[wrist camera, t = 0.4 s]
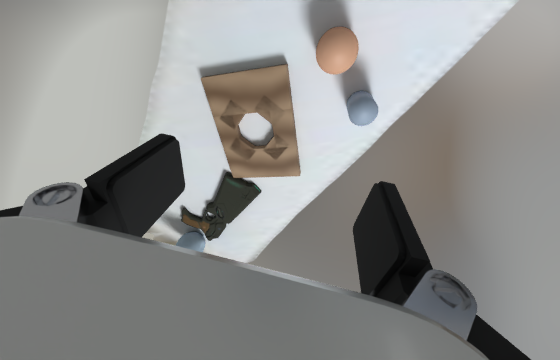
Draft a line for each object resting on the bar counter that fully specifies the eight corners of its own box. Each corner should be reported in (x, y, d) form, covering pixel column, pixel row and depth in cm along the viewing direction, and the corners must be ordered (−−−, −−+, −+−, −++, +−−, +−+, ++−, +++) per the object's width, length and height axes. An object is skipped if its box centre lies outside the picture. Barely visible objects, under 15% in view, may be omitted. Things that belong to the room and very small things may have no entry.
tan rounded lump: (316, 30, 33) (314, 30, 29) (355, 23, 32) (359, 22, 28) (318, 71, 37) (317, 76, 33) (354, 66, 35) (357, 71, 31)
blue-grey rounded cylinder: (346, 92, 38) (349, 99, 34) (373, 89, 37) (379, 96, 33) (346, 117, 40) (348, 126, 36) (371, 114, 39) (376, 124, 35)
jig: (204, 76, 41) (200, 78, 39) (287, 63, 37) (286, 65, 36) (235, 174, 52) (233, 177, 51) (300, 172, 49) (299, 176, 48)
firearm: (206, 158, 49) (261, 192, 52) (211, 153, 51) (263, 187, 54) (174, 222, 65) (217, 246, 68) (178, 217, 67) (220, 240, 70)
